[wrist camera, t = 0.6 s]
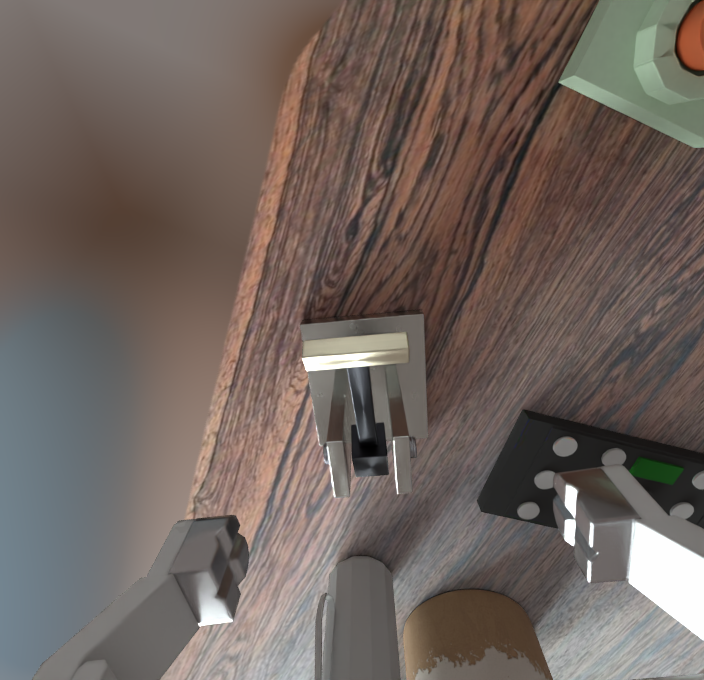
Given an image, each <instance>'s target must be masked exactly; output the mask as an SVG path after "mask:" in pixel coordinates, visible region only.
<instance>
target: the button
mask: <svg viewBox="0 0 704 680" xmlns="http://www.w3.org/2000/svg"><path fill="white" fill-rule="evenodd" d="M676 48H677V54H678V57H679V59H680V61H681V62H682V63H683V64H684V65H685V66H686V67H687V68H689V69H691V70H695V71H704V0H701V1H700V2H699V3H697V4H696V5H695V6H694V7H693V8H692V9H691V10H690V11H689V13H688V14H687V15H686V17H685V18H684V20H683V22H682V24H681V26H680V28H679V31H678V35H677V42H676Z"/></svg>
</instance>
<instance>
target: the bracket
mask: <svg viewBox="0 0 704 680" xmlns="http://www.w3.org/2000/svg"><path fill="white" fill-rule="evenodd" d="M300 328H301V335H302V341H304V340H316V339H327V338H339V337H350V336H362V335H373V334H385V333H396V332H407V335H408V341H409V347H410V361H409V363H400V364H388V365H375V366H369V367H370V376H371V385H372V395H373V404H374V413H375V422H376V423H381V422H384V424H385V435H386V441H391V446H392V454H393V463H394V472H395V481H396V490H397V494H402V493H412V474H411V458H417V448H416V440H415V439H423V438H428V418H427V390H426V362H425V334H424V313H423V311H422V309H419V310H408V311H397V312H385V313H374V314H363V315H352V316H341V317H330V318H319V319H307V320H302V321H301V324H300ZM307 372H308V378H309V384H310V391H311V397H312V403H313V409H314V416H315V422H316V428H317V434H318V440H319V446H324V447H323V454H324V462H325V464H330V470H331V477H332V483H333V490H334V496H335V498H343V497H350V482H351V451H352V447H351V425H354V424H356V420H355V415H354V409H353V404H352V398H351V392H350V387H349V381H348V376H347V370H346V368H339V369H327V370H315V371H307Z"/></svg>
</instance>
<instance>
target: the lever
mask: <svg viewBox="0 0 704 680" xmlns="http://www.w3.org/2000/svg"><path fill="white" fill-rule="evenodd" d="M302 359H303V363H304V366H305V369H306V371H315V370H327V369H339V368H346V370H347V376H348V381H349V387H350V392H351V398H352V404H353V409H354V415H355V420H356V424H354V425H351V447H352V461H353V466H354V470H355V475H356V477H365V476H380V475H389V470H388V457H387V446H386V435H385V424H384V422H381V423H376V422H375V413H374V404H373V395H372V385H371V376H370V367H369V366H375V365H388V364H400V363H409V361H410V347H409V341H408V335H407V332H396V333H385V334H373V335H362V336H350V337H339V338H327V339H316V340H304V341H303V349H302Z"/></svg>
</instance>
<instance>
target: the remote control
mask: <svg viewBox="0 0 704 680" xmlns="http://www.w3.org/2000/svg"><path fill="white" fill-rule="evenodd" d="M616 464H620V465H622V466H624V467H625V468H626V469H627V470H628V471H629V472H630V474H631V475H632V476H633V477H634V478H635V479H636V480H637V481H638V482H639V484H640V485H641V486H642V487H643V488H644V489H645V490H646V491H647V492H648V493H649V495H650V496H651V497H652V498H653V499H654V500H655V501H656V502H657V503H658V505H659V506H660V507H661V508H662V509H663V510H664V511H665V512H666V513H667V515H668V516H673V515H676V516H678V517H680V518H682V519H685V520H687V521H689V522H691V523H693V524H695V525H697V526H699V527H701V528H703V529H704V454H702V453H698V452H694V451H690V450H686V449H682V448H678V447H674V446H670V445H666V444H662V443H658V442H653V441H649V440H645V439H641V438H637V437H633V436H629V435H625V434H621V433H617V432H613V431H609V430H604V429H600V428H596V427H592V426H588V425H584V424H580V423H576V422H572V421H568V420H564V419H560V418H555V417H551V416H547V415H543V414H539V413H535V412H531V411H527V410H522V412H521V414H520V416H519V418H518V420H517V422H516V424H515V426H514V428H513V430H512V432H511V434H510V436H509V438H508V440H507V442H506V444H505V446H504V448H503V450H502V452H501V454H500V456H499V458H498V460H497V462H496V464H495V466H494V468H493V470H492V472H491V474H490V476H489V478H488V480H487V482H486V484H485V486H484V488H483V490H482V492H481V494H480V496H479V498H478V500H477V501H478V504H479V507H480V510H481V512H485V513H489V514H494V515H498V516H503V517H507V518H512V519H517V520H521V521H526V522H530V523H535V524H539V525H544V526H548V527H553V528H557V529H559V528H558V526H557V523H556V520H555V516H554V512H553V499H554V498H555V497H556V495H557V494H558V493H557V491H556V490H555V488H554V486H553V477H554V474H555V473H559V472H566V471H574V470H581V469H588V468H597V467H602V466H609V465H616Z"/></svg>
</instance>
